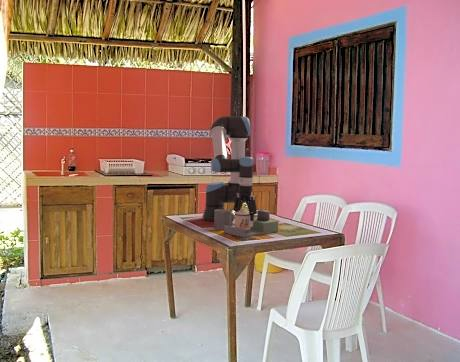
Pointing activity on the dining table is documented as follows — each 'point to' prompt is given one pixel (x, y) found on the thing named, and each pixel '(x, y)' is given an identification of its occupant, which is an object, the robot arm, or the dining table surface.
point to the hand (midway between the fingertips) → (244, 225)
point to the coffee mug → (222, 218)
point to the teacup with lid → (242, 219)
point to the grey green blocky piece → (255, 226)
